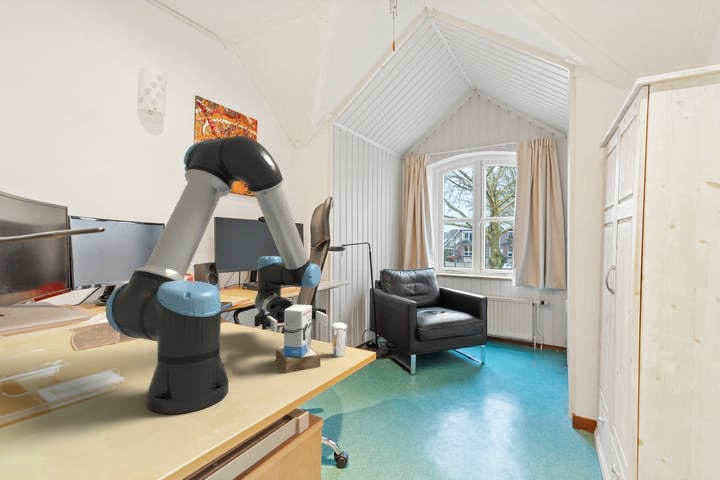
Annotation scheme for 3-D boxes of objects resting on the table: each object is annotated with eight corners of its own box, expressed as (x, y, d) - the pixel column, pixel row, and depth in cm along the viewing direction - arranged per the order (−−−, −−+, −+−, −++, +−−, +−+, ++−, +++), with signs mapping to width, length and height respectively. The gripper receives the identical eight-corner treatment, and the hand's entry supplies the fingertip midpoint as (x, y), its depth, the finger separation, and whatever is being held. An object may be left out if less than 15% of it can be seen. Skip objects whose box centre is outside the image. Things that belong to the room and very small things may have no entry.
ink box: (301, 358, 86) (301, 310, 86) (282, 356, 87) (283, 309, 87) (312, 347, 95) (312, 304, 95) (295, 346, 96) (295, 303, 96)
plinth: (286, 373, 85) (286, 360, 85) (275, 361, 93) (275, 349, 93) (320, 366, 89) (320, 354, 89) (307, 356, 97) (307, 344, 97)
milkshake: (349, 358, 96) (349, 321, 96) (329, 357, 96) (330, 321, 96) (350, 352, 101) (350, 318, 101) (331, 352, 101) (332, 317, 101)
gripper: (235, 299, 100) (252, 313, 82) (315, 293, 113) (345, 304, 94) (235, 325, 100) (252, 345, 82) (315, 316, 113) (345, 332, 94)
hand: (302, 323), depth 88 cm, fingers open, 13 cm apart
